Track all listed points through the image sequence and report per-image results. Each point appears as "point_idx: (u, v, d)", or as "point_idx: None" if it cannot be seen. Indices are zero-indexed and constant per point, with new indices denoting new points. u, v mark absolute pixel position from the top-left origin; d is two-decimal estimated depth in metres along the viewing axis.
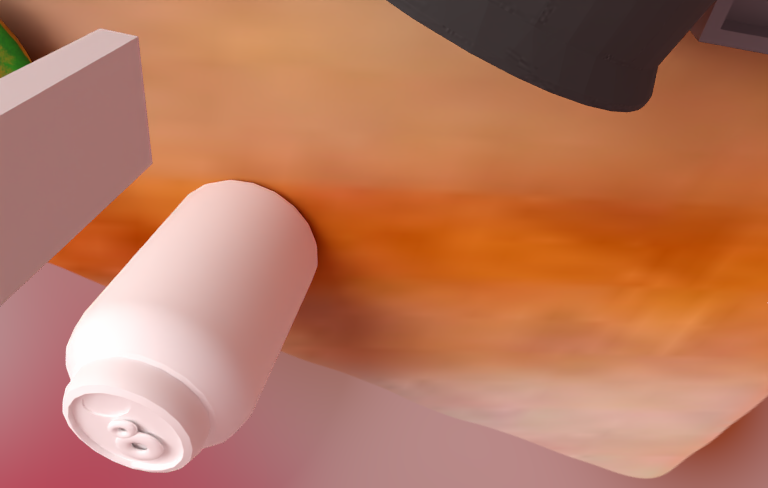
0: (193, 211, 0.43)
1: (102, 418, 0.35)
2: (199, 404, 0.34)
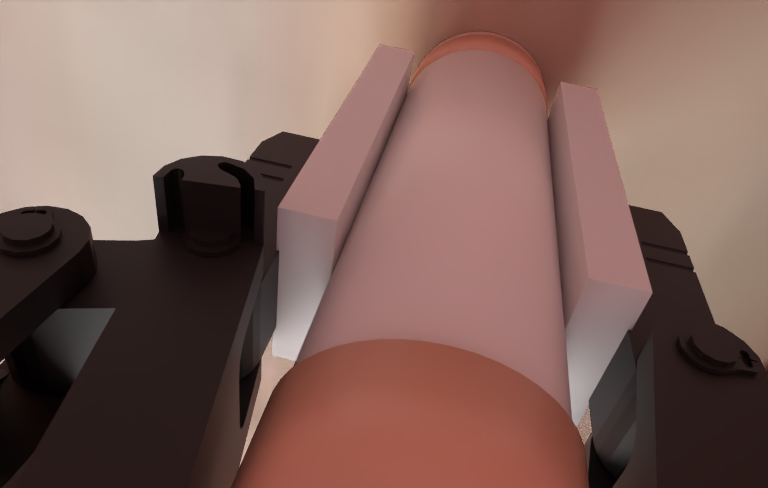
0: None
1: None
2: None
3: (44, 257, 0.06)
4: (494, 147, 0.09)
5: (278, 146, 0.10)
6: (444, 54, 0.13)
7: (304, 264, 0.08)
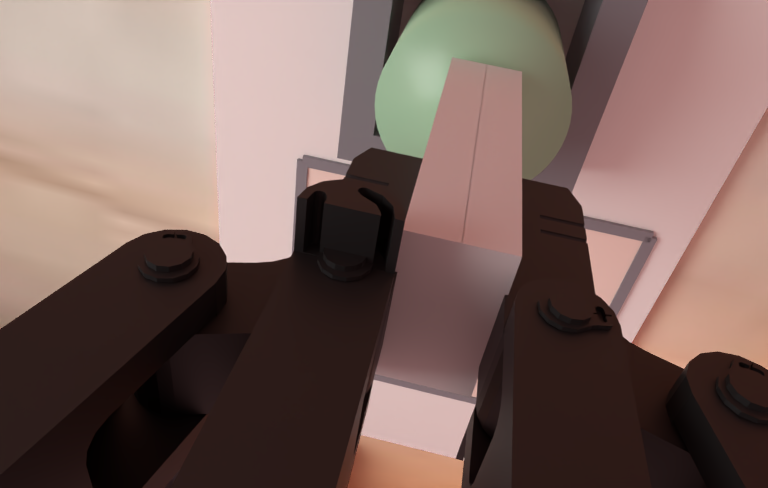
0: None
1: None
2: None
3: (183, 286, 0.06)
4: None
5: (370, 163, 0.10)
6: None
7: (421, 285, 0.08)
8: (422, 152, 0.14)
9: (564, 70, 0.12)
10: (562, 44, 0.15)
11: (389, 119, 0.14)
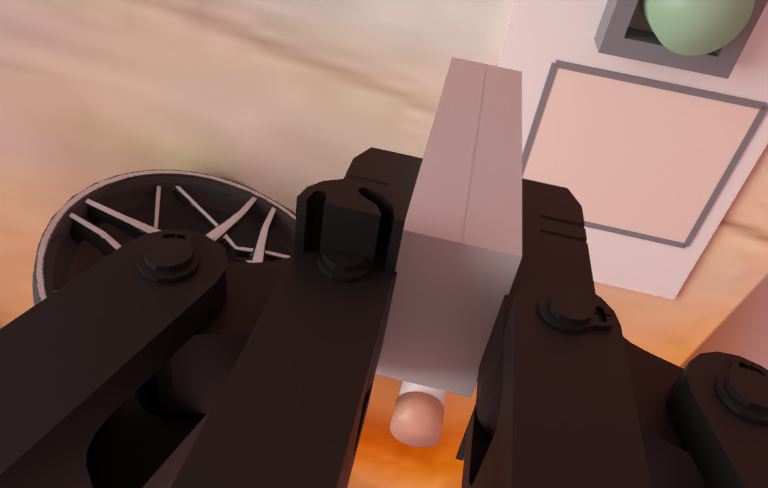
0: None
1: None
2: None
3: (184, 285, 0.06)
4: None
5: (370, 163, 0.10)
6: None
7: (421, 285, 0.08)
8: (672, 31, 0.29)
9: None
10: None
11: (660, 14, 0.28)
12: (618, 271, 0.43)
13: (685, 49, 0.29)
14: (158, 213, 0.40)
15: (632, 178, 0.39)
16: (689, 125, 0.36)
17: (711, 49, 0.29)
